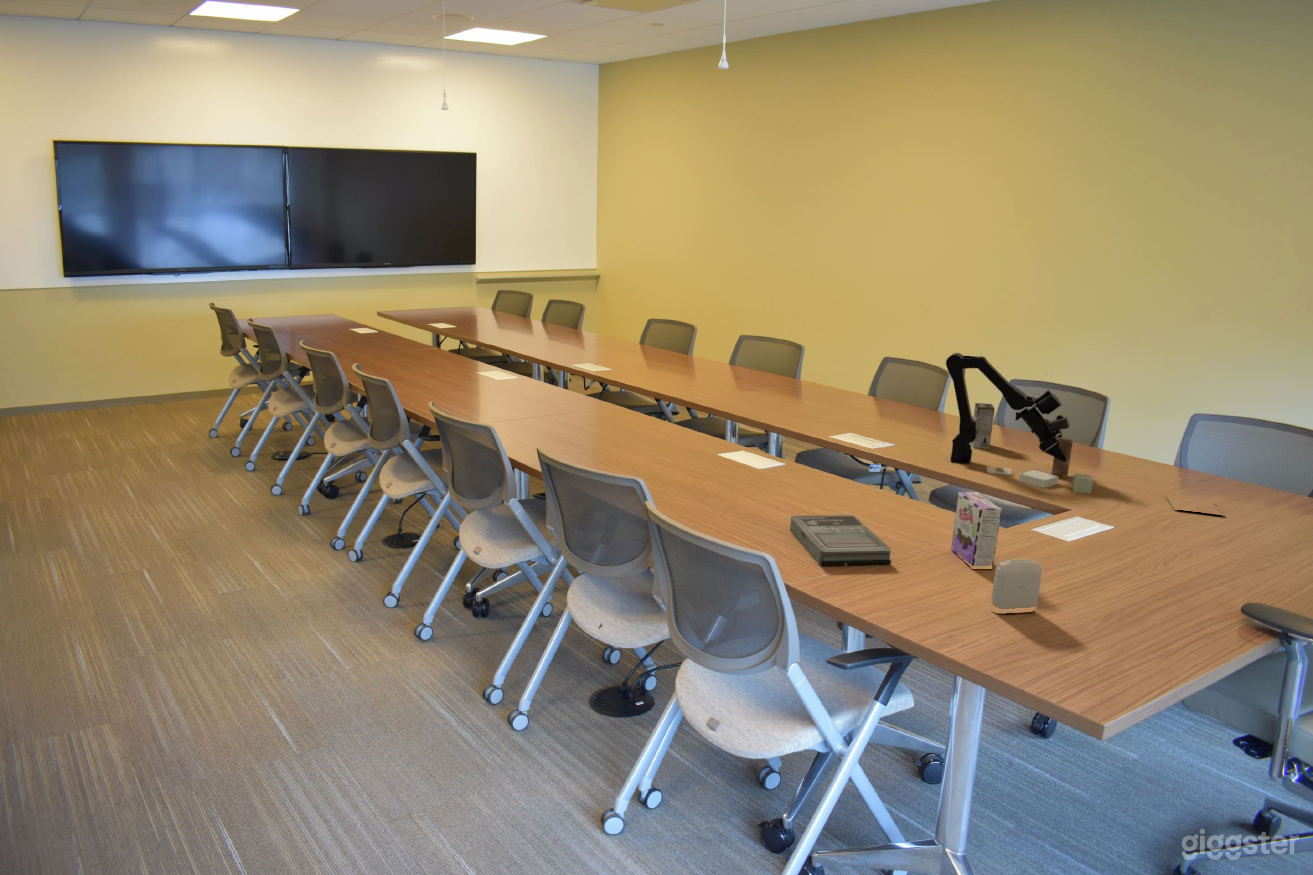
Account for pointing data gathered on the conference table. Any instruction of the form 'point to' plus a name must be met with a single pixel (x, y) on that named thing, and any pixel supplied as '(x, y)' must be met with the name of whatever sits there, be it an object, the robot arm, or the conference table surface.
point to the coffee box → (983, 424)
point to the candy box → (976, 529)
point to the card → (999, 470)
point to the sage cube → (1082, 483)
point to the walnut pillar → (1060, 466)
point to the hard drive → (839, 541)
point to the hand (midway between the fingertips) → (1066, 458)
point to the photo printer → (1016, 584)
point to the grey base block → (1038, 478)
